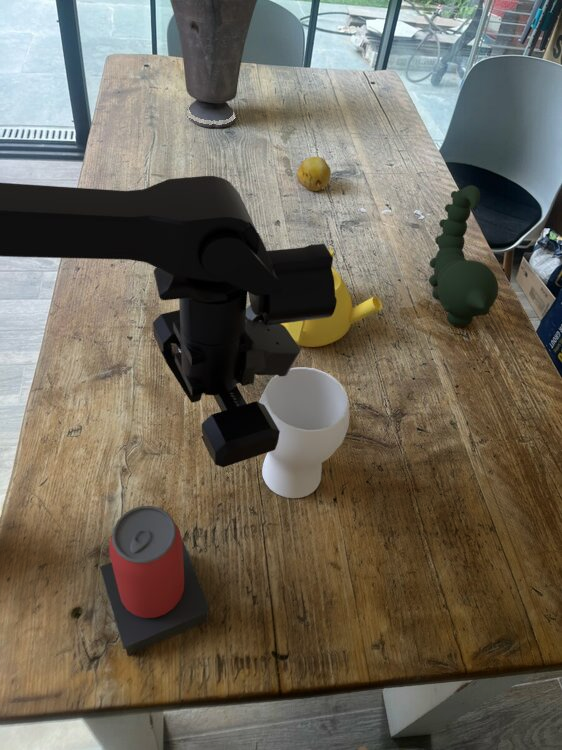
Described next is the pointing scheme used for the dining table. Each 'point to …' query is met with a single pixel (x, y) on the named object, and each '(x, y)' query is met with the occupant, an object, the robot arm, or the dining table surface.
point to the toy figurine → (461, 266)
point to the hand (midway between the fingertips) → (210, 431)
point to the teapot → (332, 318)
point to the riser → (153, 630)
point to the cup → (303, 428)
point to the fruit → (314, 173)
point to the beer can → (147, 561)
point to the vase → (212, 52)
